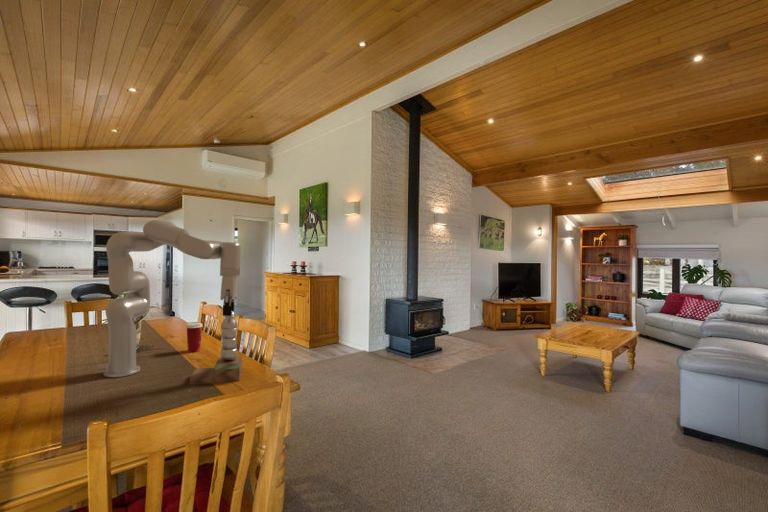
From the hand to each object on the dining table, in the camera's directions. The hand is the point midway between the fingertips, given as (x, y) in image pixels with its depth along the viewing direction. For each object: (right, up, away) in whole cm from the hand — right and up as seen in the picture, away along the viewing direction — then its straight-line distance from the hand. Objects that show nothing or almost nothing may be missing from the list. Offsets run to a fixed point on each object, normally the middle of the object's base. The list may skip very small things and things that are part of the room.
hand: (228, 313), depth 149 cm
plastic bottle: (0, -20, +1) cm, 20 cm away
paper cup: (-33, -25, +36) cm, 56 cm away
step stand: (-4, -27, -1) cm, 27 cm away
